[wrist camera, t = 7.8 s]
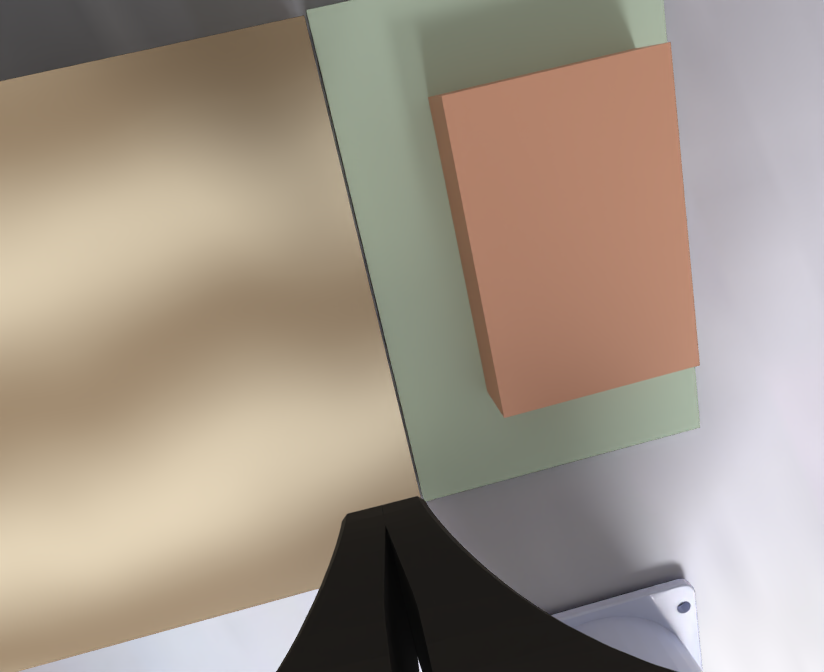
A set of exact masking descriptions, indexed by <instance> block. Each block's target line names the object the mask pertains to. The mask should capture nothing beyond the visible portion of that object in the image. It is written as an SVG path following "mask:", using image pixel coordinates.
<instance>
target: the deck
mask: <svg viewBox="0 0 824 672" xmlns="http://www.w3.org/2000/svg"><path fill="white" fill-rule="evenodd" d="M415 496H418V497H420V493H419V489H418V485H417V480H416V476H415V472H414V468H413V464H412V460H411V456H410V451H409V447H408V443H407V439H406V435H405V431H404V427H403V423H402V418H401V414H400V410H399V406H398V402H397V398H396V394H395V389H394V385H393V381H392V377H391V373H390V369H389V365H388V360H387V356H386V352H385V348H384V344H383V340H382V336H381V331H380V327H379V323H378V319H377V315H376V311H375V307H374V302H373V298H372V294H371V290H370V286H369V282H368V278H367V273H366V269H365V265H364V261H363V257H362V253H361V249H360V245H359V240H358V236H357V232H356V228H355V224H354V220H353V216H352V211H351V207H350V203H349V199H348V195H347V191H346V187H345V182H344V178H343V174H342V170H341V166H340V162H339V158H338V153H337V149H336V145H335V141H334V137H333V133H332V129H331V124H330V120H329V116H328V112H327V108H326V104H325V100H324V95H323V91H322V87H321V83H320V79H319V75H318V71H317V67H316V62H315V58H314V54H313V50H312V46H311V42H310V38H309V33H308V29H307V25H306V21H305V17H304V16H299V17H294V18H290V19H285V20H281V21H276V22H271V23H267V24H262V25H257V26H253V27H248V28H244V29H239V30H234V31H230V32H225V33H221V34H216V35H211V36H207V37H202V38H198V39H193V40H188V41H184V42H179V43H175V44H170V45H165V46H161V47H156V48H151V49H147V50H142V51H138V52H133V53H128V54H124V55H119V56H115V57H110V58H105V59H101V60H96V61H92V62H87V63H82V64H78V65H73V66H69V67H64V68H59V69H55V70H50V71H45V72H41V73H36V74H32V75H27V76H22V77H18V78H13V79H9V80H4V81H0V672H18V671H21V670H25V669H29V668H32V667H36V666H39V665H43V664H47V663H50V662H54V661H58V660H61V659H65V658H68V657H72V656H76V655H79V654H83V653H87V652H90V651H94V650H97V649H101V648H105V647H108V646H112V645H116V644H119V643H123V642H126V641H130V640H134V639H137V638H141V637H145V636H148V635H152V634H156V633H159V632H163V631H166V630H170V629H174V628H177V627H181V626H185V625H188V624H192V623H195V622H199V621H203V620H206V619H210V618H214V617H217V616H221V615H224V614H228V613H232V612H235V611H239V610H243V609H246V608H250V607H253V606H257V605H261V604H264V603H268V602H272V601H275V600H279V599H282V598H286V597H290V596H293V595H297V594H301V593H304V592H308V591H311V590H315V589H319V588H320V586H321V583H322V581H323V578H324V576H325V573H326V571H327V568H328V566H329V563H330V560H331V558H332V555H333V552H334V549H335V546H336V543H337V539H338V536H339V532H340V528H341V523H342V520H343V519H344V517H345V516H346V514H348V513H352V512H356V511H360V510H364V509H368V508H372V507H376V506H380V505H384V504H388V503H392V502H395V501H399V500H403V499H407V498H411V497H415ZM420 498H421V497H420Z"/></svg>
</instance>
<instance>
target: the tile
mask: <svg viewBox="0 0 824 672" xmlns="http://www.w3.org/2000/svg"><path fill="white" fill-rule="evenodd" d="M428 100H429V105H430V110H431V115H432V120H433V125H434V130H435V135H436V140H437V145H438V150H439V155H440V160H441V165H442V169H443V174H444V179H445V184H446V189H447V194H448V199H449V204H450V209H451V214H452V219H453V224H454V229H455V234H456V239H457V244H458V249H459V254H460V259H461V264H462V269H463V274H464V279H465V284H466V288H467V293H468V298H469V303H470V308H471V313H472V318H473V323H474V328H475V333H476V338H477V343H478V348H479V353H480V358H481V363H482V368H483V373H484V378H485V383H486V388H487V392H488V394H489V395H490V397H491V398H492V400H493V401H494V403H495V404H496V406H497V408H498V409H499V411H500V412H501V414H502V415H503V417H504V418H506V417H510V416H514V415H518V414H521V413H525V412H529V411H532V410H536V409H540V408H544V407H547V406H551V405H555V404H558V403H562V402H566V401H569V400H573V399H577V398H581V397H584V396H588V395H592V394H595V393H599V392H603V391H606V390H610V389H614V388H618V387H621V386H625V385H629V384H632V383H636V382H640V381H644V380H647V379H651V378H655V377H658V376H662V375H666V374H669V373H673V372H677V371H681V370H684V369H688V368H692V367H695V366H699V365H700V363H699V352H698V341H697V330H696V319H695V308H694V296H693V285H692V274H691V263H690V252H689V241H688V230H687V219H686V208H685V197H684V186H683V175H682V164H681V153H680V142H679V130H678V119H677V108H676V97H675V86H674V75H673V64H672V53H671V42H668V43H662V44H657V45H651V46H645V47H640V48H634V49H630V50H626V51H622V52H618V53H613V54H609V55H605V56H601V57H596V58H592V59H588V60H584V61H579V62H575V63H571V64H567V65H562V66H558V67H554V68H550V69H545V70H541V71H537V72H533V73H528V74H524V75H520V76H516V77H512V78H507V79H503V80H499V81H495V82H490V83H486V84H482V85H478V86H473V87H469V88H465V89H461V90H456V91H452V92H448V93H444V94H439V95H435V96H431V97H428Z"/></svg>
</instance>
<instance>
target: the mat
mask: <svg viewBox="0 0 824 672" xmlns="http://www.w3.org/2000/svg"><path fill="white" fill-rule="evenodd" d="M306 13H307V17H308V21H309V25H310V29H311V34H312V38H313V42H314V46H315V50H316V54H317V59H318V63H319V67H320V71H321V75H322V79H323V83H324V88H325V92H326V96H327V100H328V104H329V108H330V113H331V117H332V121H333V125H334V129H335V133H336V138H337V142H338V146H339V150H340V154H341V158H342V163H343V167H344V171H345V175H346V179H347V183H348V188H349V192H350V196H351V200H352V204H353V208H354V212H355V217H356V221H357V225H358V229H359V233H360V237H361V242H362V246H363V250H364V254H365V258H366V262H367V267H368V271H369V275H370V279H371V283H372V287H373V292H374V296H375V300H376V304H377V308H378V312H379V317H380V321H381V325H382V329H383V333H384V337H385V342H386V346H387V350H388V354H389V358H390V362H391V366H392V371H393V375H394V379H395V383H396V387H397V391H398V396H399V400H400V404H401V408H402V412H403V416H404V421H405V425H406V429H407V433H408V437H409V441H410V446H411V450H412V454H413V458H414V462H415V466H416V471H417V475H418V479H419V483H420V487H421V491H422V496H423V499H424V500H425V502H426V501H429V500H433V499H437V498H441V497H444V496H448V495H452V494H455V493H459V492H463V491H466V490H470V489H474V488H478V487H481V486H485V485H489V484H492V483H496V482H500V481H504V480H507V479H511V478H515V477H518V476H522V475H526V474H530V473H533V472H537V471H541V470H544V469H548V468H552V467H555V466H559V465H563V464H567V463H570V462H574V461H578V460H581V459H585V458H589V457H593V456H596V455H600V454H604V453H607V452H611V451H615V450H618V449H622V448H626V447H630V446H633V445H637V444H641V443H644V442H648V441H652V440H656V439H659V438H663V437H667V436H670V435H674V434H678V433H681V432H685V431H689V430H693V429H696V428H700V421H699V410H698V398H697V386H696V374H695V367H692V368H688V369H684V370H681V371H677V372H673V373H669V374H666V375H662V376H658V377H655V378H651V379H647V380H644V381H640V382H636V383H632V384H629V385H625V386H621V387H618V388H614V389H610V390H606V391H603V392H599V393H595V394H592V395H588V396H584V397H581V398H577V399H573V400H569V401H566V402H562V403H558V404H555V405H551V406H547V407H544V408H540V409H536V410H532V411H529V412H525V413H521V414H518V415H514V416H510V417H506V418H504V417H503V415H502V414H501V412H500V411H499V409H498V408H497V406H496V404H495V403H494V401H493V400H492V398H491V397H490V395H489V394H488V392H487V388H486V383H485V378H484V373H483V368H482V363H481V358H480V353H479V348H478V343H477V338H476V333H475V328H474V323H473V318H472V313H471V308H470V303H469V298H468V293H467V288H466V284H465V279H464V274H463V269H462V264H461V259H460V254H459V249H458V244H457V239H456V234H455V229H454V224H453V219H452V214H451V209H450V204H449V199H448V194H447V189H446V184H445V179H444V174H443V169H442V165H441V160H440V155H439V150H438V145H437V140H436V135H435V130H434V125H433V120H432V115H431V110H430V105H429V100H428V97H431V96H435V95H439V94H444V93H448V92H452V91H456V90H461V89H465V88H469V87H473V86H478V85H482V84H486V83H490V82H495V81H499V80H503V79H507V78H512V77H516V76H520V75H524V74H528V73H533V72H537V71H541V70H545V69H550V68H554V67H558V66H562V65H567V64H571V63H575V62H579V61H584V60H588V59H592V58H596V57H601V56H605V55H609V54H613V53H618V52H622V51H626V50H630V49H634V48H640V47H645V46H651V45H657V44H662V43H667V36H666V24H665V13H664V1H663V0H350V1H346V2H341V3H337V4H332V5H327V6H323V7H318V8H313V9H309V10H306Z"/></svg>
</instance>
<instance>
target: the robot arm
mask: <svg viewBox="0 0 824 672" xmlns="http://www.w3.org/2000/svg"><path fill="white" fill-rule="evenodd" d="M684 601H685V602H684ZM681 602H684V603H683V604H682V605H680V606H678V605H679V604H680V603H681ZM417 656H418V657H417ZM418 660H419V663H420V666H421V669H422V672H703V669H702V659H701V649H700V638H699V628H698V617H697V607H696V597H695V590H694V588H693V587H692V585H691V584H690V583H689V582H688V581H687V580H685V579H676V580H673V581H669V582H666V583H662V584H658V585H655V586H651V587H648V588H644V589H641V590H637V591H634V592H630V593H627V594H623V595H620V596H616V597H613V598H609V599H606V600H602V601H599V602H595V603H592V604H588V605H585V606H581V607H578V608H574V609H571V610H567V611H564V612H560V613H557V614H553V615H550V614H548V613H546V612H545V611H543V610H542V609H540V608H539V607H537V606H536V605H534V604H533V603H531V602H530V601H528V600H527V599H525V598H524V597H522V596H521V595H520V594H518V593H517V592H516V591H514V590H513V589H512V588H510V587H509V586H508V585H506V584H505V583H504V582H503V581H501V580H500V579H499V578H498V577H496V576H495V575H494V574H493V573H492V572H490V571H489V570H488V569H487V568H486V567H484V566H483V565H482V564H481V563H480V562H479V561H478V560H477V559H476V558H474V557H473V556H472V555H471V554H470V553H469V552H468V551H467V550H466V549H465V548H464V547H463V546H462V545H461V544H460V543H459V542H458V541H457V540H456V539H455V538H454V537H453V536H452V535H451V534H450V533H449V532H448V530H447V529H446V528H445V527H444V526H443V525H442V524H441V522H440V521H439V520H438V519H437V518H436V516H435V515H434V514H433V512H432V511H431V510H430V508H429V507H428V505H427V504H426V502H425V500H423V499H422V498H420V497H418V496H415V497H411V498H407V499H403V500H399V501H395V502H392V503H388V504H384V505H380V506H376V507H372V508H368V509H364V510H360V511H356V512H352V513H348V514H346V516H345V517H344V519H343V520H342V523H341V528H340V532H339V536H338V539H337V543H336V546H335V549H334V552H333V555H332V558H331V560H330V563H329V566H328V568H327V571H326V573H325V576H324V578H323V581H322V583H321V586H320V588H319V591H318V593H317V596H316V598H315V600H314V602H313V604H312V606H311V608H310V610H309V613H308V615H307V617H306V619H305V621H304V623H303V625H302V627H301V629H300V631H299V633H298V635H297V637H296V639H295V641H294V642H293V644H292V646H291V648H290V650H289V651H288V653H287V655H286V657H285V658H284V660H283V662H282V663H281V665H280V667H279V668H278V670H277V671H276V672H419V665H418Z"/></svg>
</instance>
